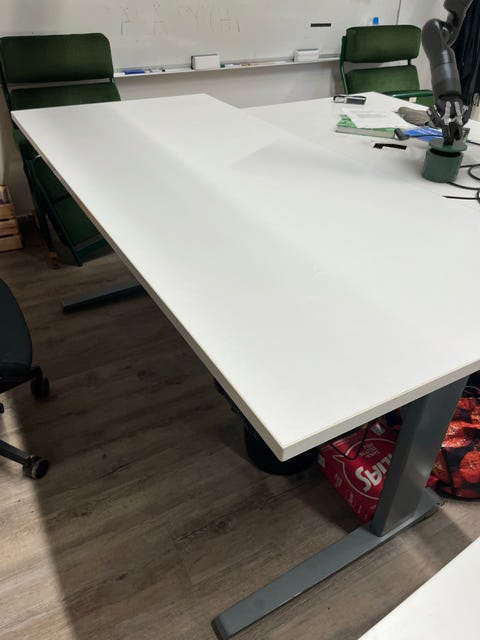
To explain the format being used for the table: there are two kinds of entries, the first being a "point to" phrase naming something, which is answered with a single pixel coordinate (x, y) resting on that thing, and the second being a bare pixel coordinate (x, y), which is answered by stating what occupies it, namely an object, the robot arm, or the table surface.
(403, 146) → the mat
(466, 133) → the food container
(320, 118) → the table surface
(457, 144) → the lid
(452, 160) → the pot
